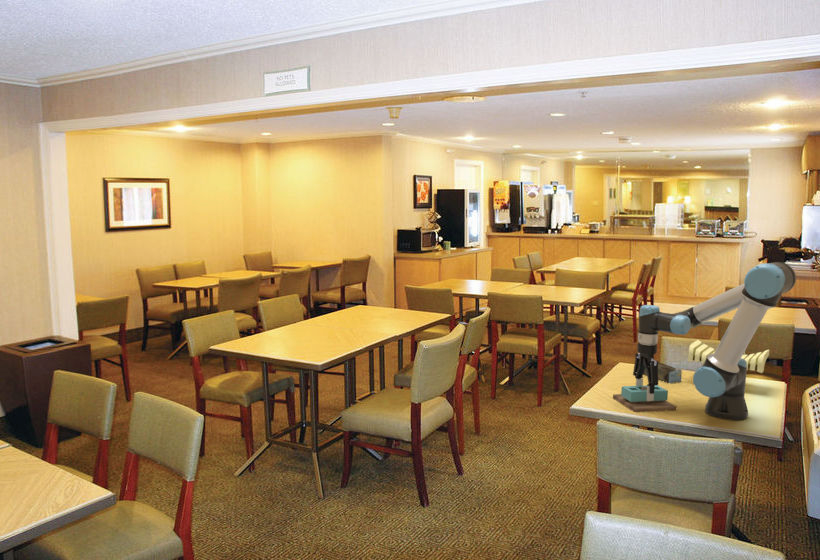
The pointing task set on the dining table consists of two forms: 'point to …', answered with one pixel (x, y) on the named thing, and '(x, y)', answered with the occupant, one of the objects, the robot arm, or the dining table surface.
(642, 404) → the post base
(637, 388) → the teal block with holes
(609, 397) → the dining table surface
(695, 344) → the slatted curved stool
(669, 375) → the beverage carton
